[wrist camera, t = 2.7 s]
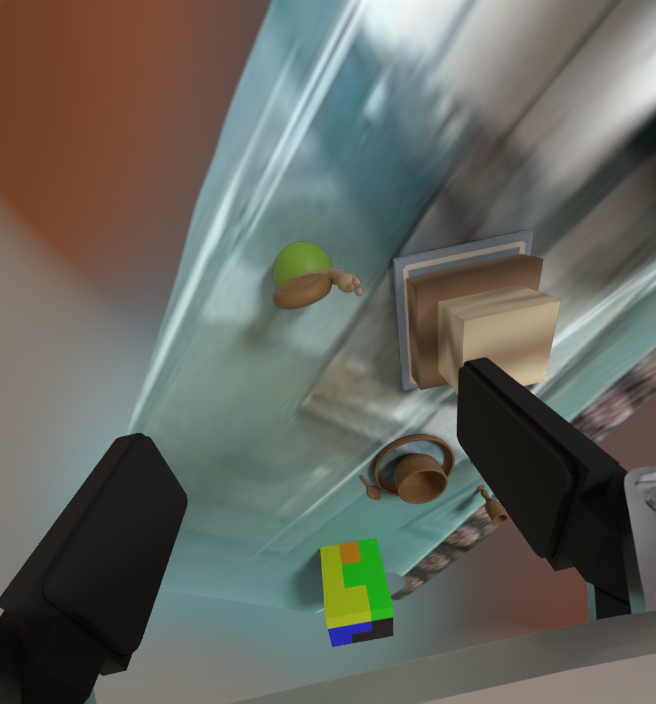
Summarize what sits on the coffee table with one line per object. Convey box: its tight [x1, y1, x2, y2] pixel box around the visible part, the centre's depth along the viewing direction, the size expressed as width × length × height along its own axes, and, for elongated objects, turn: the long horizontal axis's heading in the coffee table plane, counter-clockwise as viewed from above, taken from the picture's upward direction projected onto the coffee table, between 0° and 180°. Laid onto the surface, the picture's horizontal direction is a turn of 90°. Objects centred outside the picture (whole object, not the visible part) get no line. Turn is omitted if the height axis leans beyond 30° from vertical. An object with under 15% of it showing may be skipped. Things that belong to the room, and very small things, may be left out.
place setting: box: [359, 434, 509, 524], centre depth 44 cm, size 18×20×6 cm
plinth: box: [406, 254, 561, 395], centre depth 29 cm, size 12×12×8 cm
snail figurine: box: [273, 241, 363, 309], centre depth 24 cm, size 5×6×12 cm
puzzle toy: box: [320, 538, 393, 647], centre depth 50 cm, size 10×10×10 cm
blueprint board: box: [392, 230, 534, 391], centre depth 33 cm, size 16×14×1 cm
